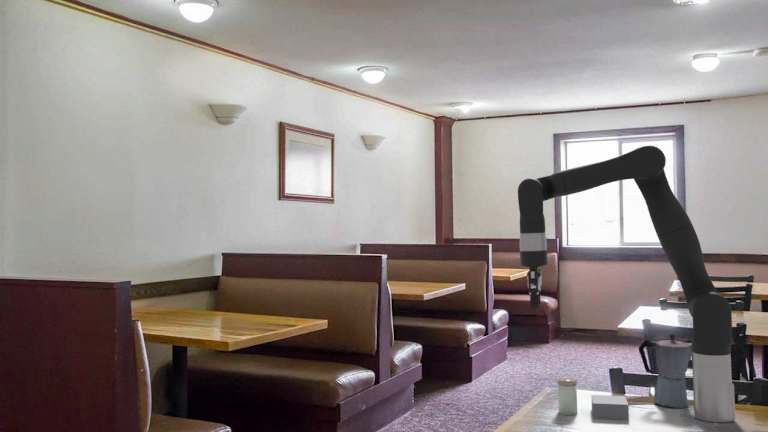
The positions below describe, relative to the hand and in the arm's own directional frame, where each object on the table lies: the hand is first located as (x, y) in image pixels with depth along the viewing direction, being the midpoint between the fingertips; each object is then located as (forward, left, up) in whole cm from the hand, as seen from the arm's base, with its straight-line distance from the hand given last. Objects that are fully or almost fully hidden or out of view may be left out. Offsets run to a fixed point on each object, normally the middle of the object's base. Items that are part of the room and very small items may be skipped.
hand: (535, 306), depth 187 cm
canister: (-8, +1, -29) cm, 30 cm away
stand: (-19, +1, -29) cm, 35 cm away
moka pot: (-36, -12, -29) cm, 48 cm away
